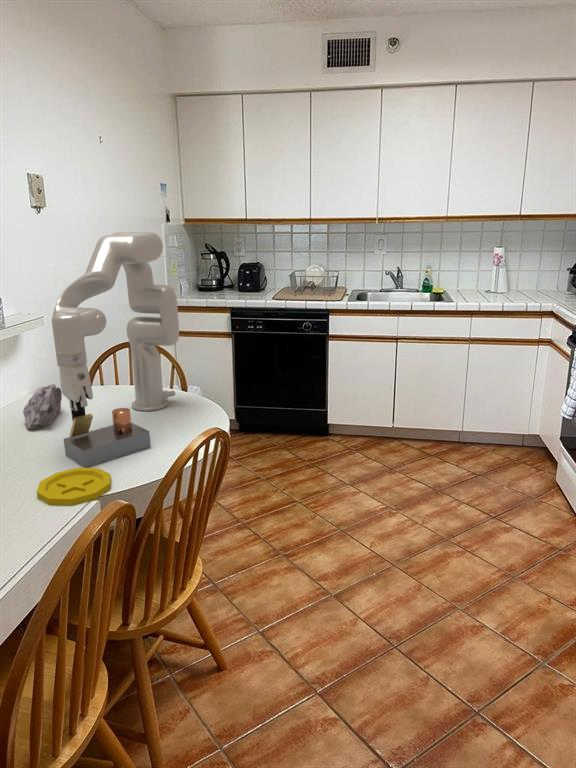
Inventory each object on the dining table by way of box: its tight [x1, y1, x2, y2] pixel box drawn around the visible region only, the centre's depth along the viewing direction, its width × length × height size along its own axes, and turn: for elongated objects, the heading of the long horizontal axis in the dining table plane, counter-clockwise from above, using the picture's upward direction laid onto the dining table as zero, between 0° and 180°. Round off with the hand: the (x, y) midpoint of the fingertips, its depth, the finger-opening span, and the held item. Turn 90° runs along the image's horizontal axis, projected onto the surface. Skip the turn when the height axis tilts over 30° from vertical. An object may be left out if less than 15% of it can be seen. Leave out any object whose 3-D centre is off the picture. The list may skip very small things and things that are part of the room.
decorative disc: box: [36, 467, 112, 506], centre depth 141 cm, size 17×18×2 cm
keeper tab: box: [69, 413, 94, 437], centre depth 158 cm, size 8×5×1 cm
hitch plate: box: [63, 422, 151, 468], centre depth 162 cm, size 20×12×5 cm, turn 134°
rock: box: [22, 383, 63, 430], centre depth 186 cm, size 22×10×15 cm, turn 8°
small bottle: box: [111, 407, 132, 434], centre depth 165 cm, size 5×5×10 cm
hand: (79, 422), depth 159 cm, fingers closed
